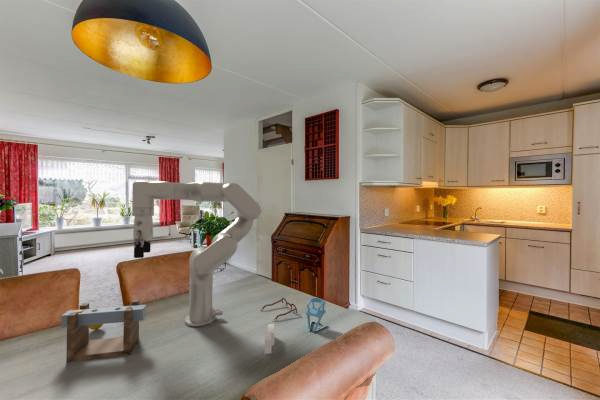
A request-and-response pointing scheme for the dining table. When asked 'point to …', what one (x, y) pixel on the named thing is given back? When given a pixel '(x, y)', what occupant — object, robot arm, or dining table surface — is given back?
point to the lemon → (95, 326)
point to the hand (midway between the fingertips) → (142, 254)
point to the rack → (91, 349)
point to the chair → (315, 311)
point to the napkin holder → (269, 338)
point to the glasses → (286, 305)
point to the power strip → (104, 315)
